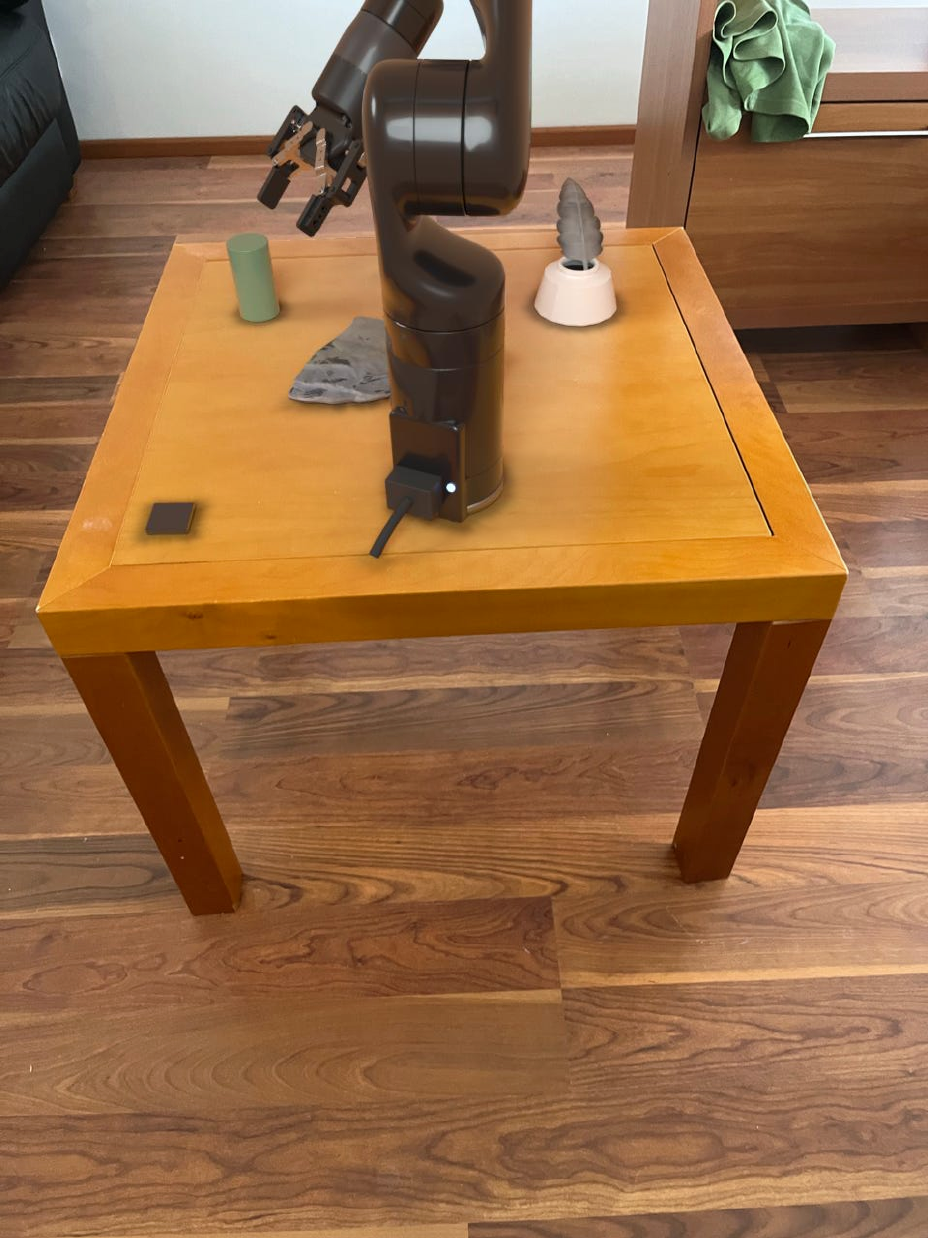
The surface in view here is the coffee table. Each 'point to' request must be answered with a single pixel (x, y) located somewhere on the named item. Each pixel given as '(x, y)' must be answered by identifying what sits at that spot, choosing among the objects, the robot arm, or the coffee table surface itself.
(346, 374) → the fossil rock
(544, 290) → the inkwell
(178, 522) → the coaster
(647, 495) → the coffee table surface
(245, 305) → the sage green cylinder
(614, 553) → the coffee table surface
